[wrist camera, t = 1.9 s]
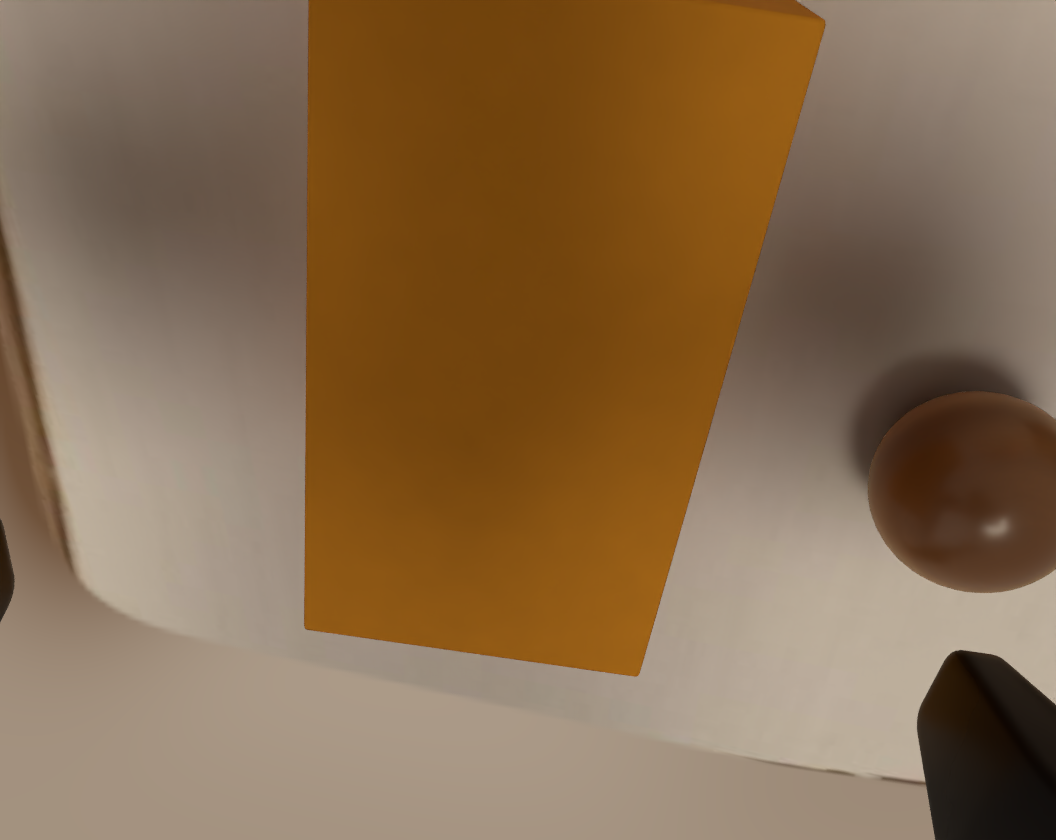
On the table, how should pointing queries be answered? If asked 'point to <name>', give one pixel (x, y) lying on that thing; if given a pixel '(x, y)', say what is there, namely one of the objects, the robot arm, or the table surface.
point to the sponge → (527, 304)
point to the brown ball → (969, 491)
